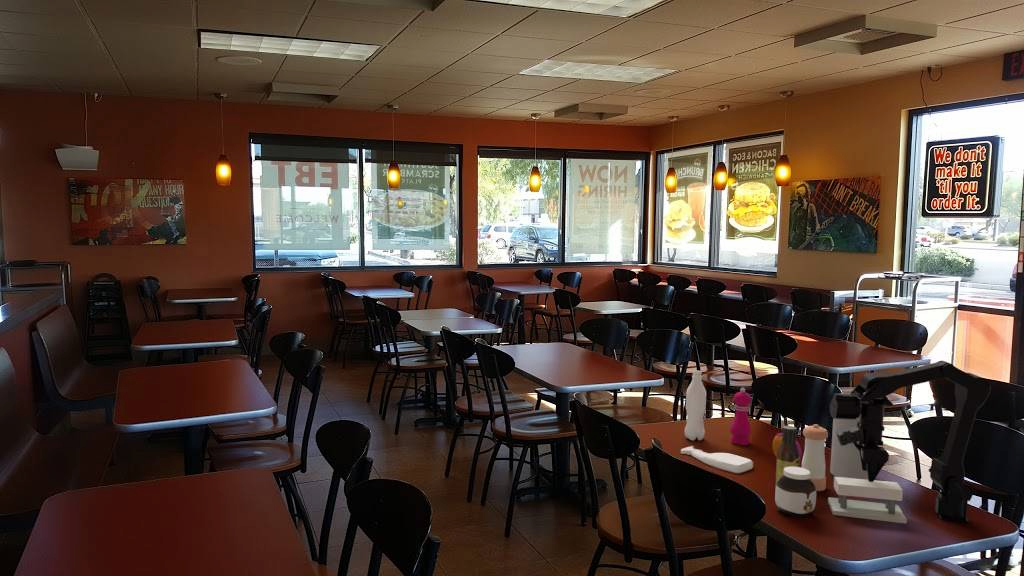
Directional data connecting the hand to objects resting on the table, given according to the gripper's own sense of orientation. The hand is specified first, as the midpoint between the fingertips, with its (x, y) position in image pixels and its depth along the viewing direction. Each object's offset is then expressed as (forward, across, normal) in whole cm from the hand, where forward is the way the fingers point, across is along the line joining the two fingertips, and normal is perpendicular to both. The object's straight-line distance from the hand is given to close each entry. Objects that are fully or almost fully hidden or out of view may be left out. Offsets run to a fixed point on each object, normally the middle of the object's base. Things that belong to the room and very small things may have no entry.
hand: (867, 476), depth 200 cm
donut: (+10, -36, -18) cm, 42 cm away
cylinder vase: (+10, -30, +1) cm, 32 cm away
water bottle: (+11, -54, -48) cm, 73 cm away
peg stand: (+10, 0, 0) cm, 10 cm away
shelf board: (+5, 0, 0) cm, 5 cm away
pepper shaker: (+10, -16, -12) cm, 22 cm away
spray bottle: (+11, -31, -41) cm, 52 cm away
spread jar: (+11, +4, -19) cm, 22 cm away
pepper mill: (+10, -55, -32) cm, 64 cm away
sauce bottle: (+10, -7, -20) cm, 23 cm away
